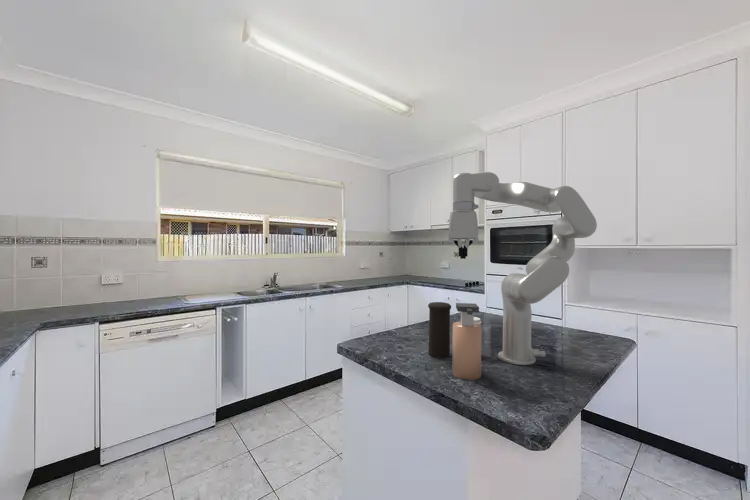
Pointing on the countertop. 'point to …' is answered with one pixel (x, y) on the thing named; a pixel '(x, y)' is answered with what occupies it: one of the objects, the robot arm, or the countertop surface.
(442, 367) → the countertop surface
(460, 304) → the pump head
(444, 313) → the container
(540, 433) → the countertop surface
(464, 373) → the pump dispenser
